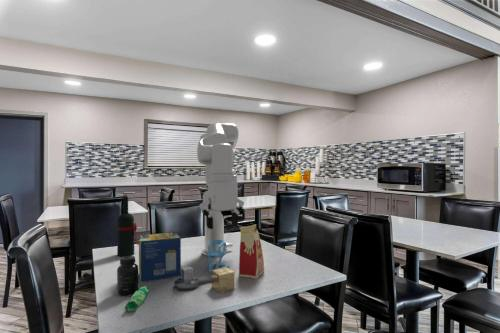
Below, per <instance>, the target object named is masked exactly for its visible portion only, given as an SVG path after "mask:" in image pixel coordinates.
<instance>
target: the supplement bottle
mask: <svg viewBox="0 0 500 333" xmlns="http://www.w3.org/2000/svg"><path fill="white" fill-rule="evenodd" d="M119 258H120V259H119V266H118V267H117V269H116V284H117V285H116V286H117V290H116V292H117V294H118V296H121V297H127V296H128V297H129V296H132V295H133V294H134V293H135V292H136V291H139V289H140V286H139V284H140V283H139V281H140V280H139V264H137V263H136V257H135V256H134V255H132V256H124V257H119Z"/></svg>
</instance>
